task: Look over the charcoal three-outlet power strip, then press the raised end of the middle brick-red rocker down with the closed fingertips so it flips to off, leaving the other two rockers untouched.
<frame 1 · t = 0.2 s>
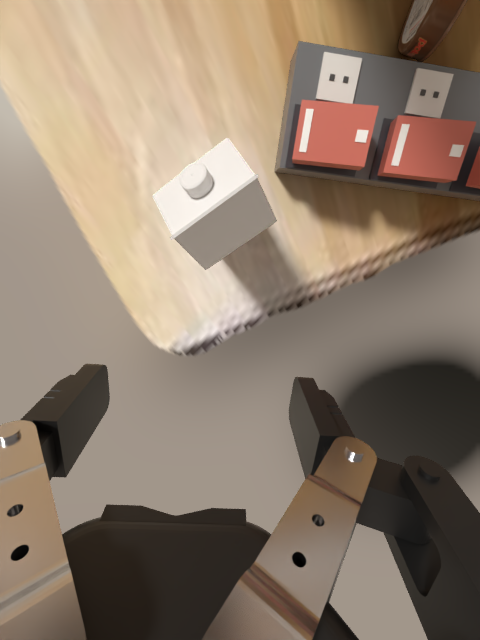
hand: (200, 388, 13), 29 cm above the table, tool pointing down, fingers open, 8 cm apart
rocker 1: (332, 136, 29), point 6 cm above the table, hinge at 12.0°
rocker 2: (423, 150, 30), point 6 cm above the table, hinge at 12.0°
milk carton: (221, 208, 38), on the table
power strip: (397, 137, 35), on the table
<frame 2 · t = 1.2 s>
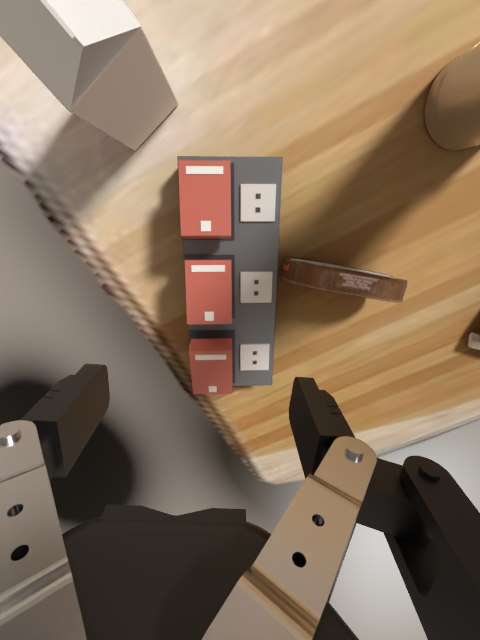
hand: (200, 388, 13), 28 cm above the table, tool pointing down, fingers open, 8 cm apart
rocker 1: (206, 201, 30), point 6 cm above the table, hinge at 12.0°
rocker 2: (209, 292, 33), point 6 cm above the table, hinge at 12.0°
tin: (330, 271, 40), on the table
milk carton: (133, 100, 32), on the table
power strip: (231, 279, 40), on the table
rocker 3: (212, 367, 37), point 6 cm above the table, hinge at -12.0°
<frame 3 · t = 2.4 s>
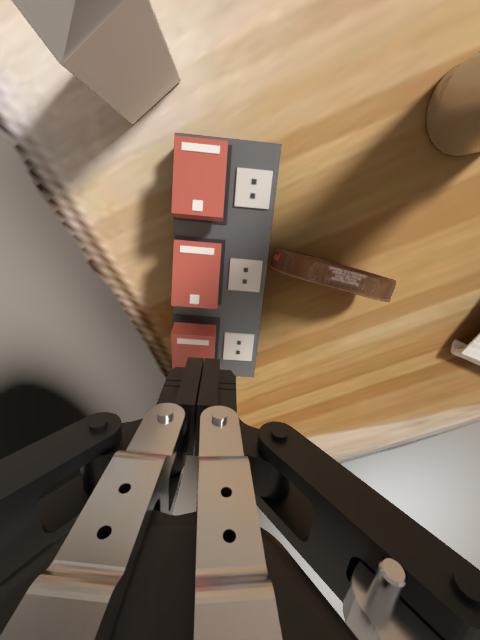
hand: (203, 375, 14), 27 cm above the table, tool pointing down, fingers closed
rocker 1: (200, 181, 29), point 6 cm above the table, hinge at 12.0°
rocker 2: (196, 275, 33), point 6 cm above the table, hinge at 12.0°
tin: (322, 267, 40), on the table
milk carton: (135, 72, 32), on the table
power strip: (221, 266, 39), on the table
rocker 3: (194, 352, 36), point 6 cm above the table, hinge at -12.0°
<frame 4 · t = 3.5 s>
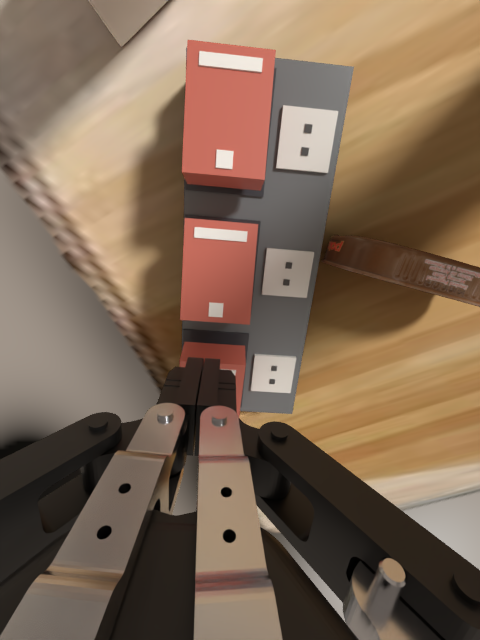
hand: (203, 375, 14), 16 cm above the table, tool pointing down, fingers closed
rocker 1: (227, 122, 18), point 6 cm above the table, hinge at 12.0°
rocker 2: (218, 273, 22), point 6 cm above the table, hinge at 12.0°
tin: (388, 262, 29), on the table
power strip: (248, 261, 28), on the table
rocker 3: (212, 385, 25), point 6 cm above the table, hinge at -12.0°
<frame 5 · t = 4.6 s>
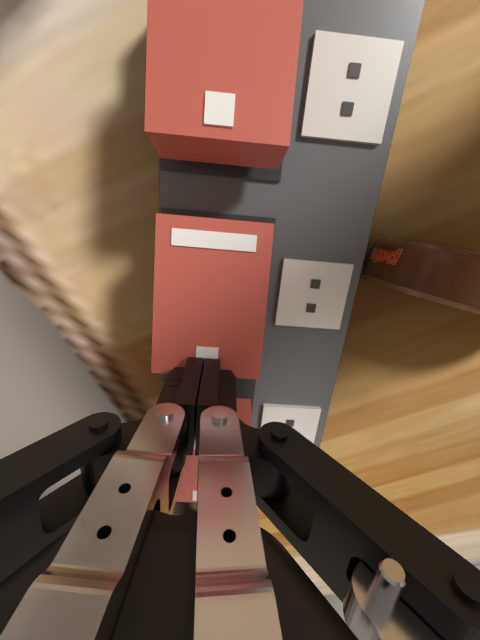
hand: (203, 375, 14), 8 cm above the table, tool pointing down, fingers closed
rocker 1: (225, 49, 11), point 6 cm above the table, hinge at 12.0°
rocker 2: (212, 298, 14), point 6 cm above the table, hinge at 11.5°, touching gripper
tin: (444, 275, 21), on the table
power strip: (254, 274, 20), on the table
rocker 3: (203, 452, 18), point 6 cm above the table, hinge at -12.0°
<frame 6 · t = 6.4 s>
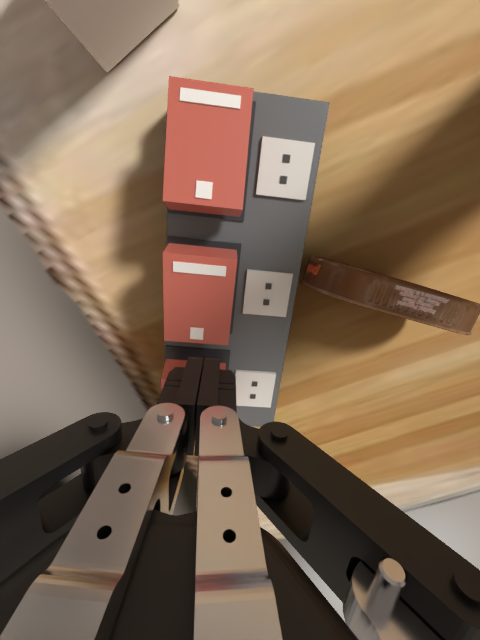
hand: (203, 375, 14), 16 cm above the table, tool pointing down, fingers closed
rocker 1: (208, 153, 19), point 6 cm above the table, hinge at 12.0°
rocker 2: (199, 296, 22), point 6 cm above the table, hinge at -8.5°
tin: (365, 281, 30), on the table
power strip: (230, 279, 29), on the table
rocker 3: (193, 401, 26), point 6 cm above the table, hinge at -12.0°
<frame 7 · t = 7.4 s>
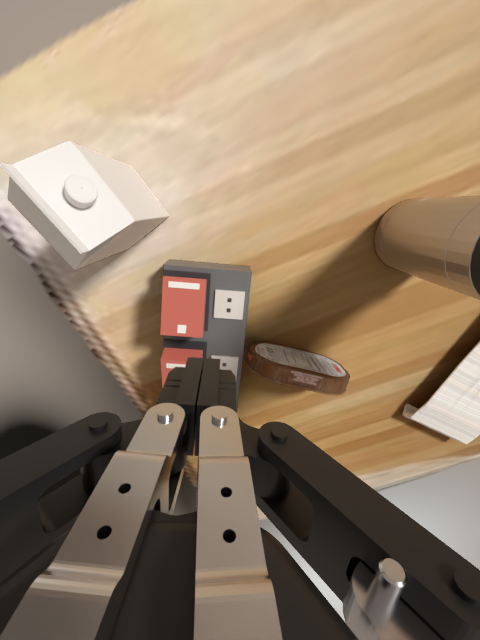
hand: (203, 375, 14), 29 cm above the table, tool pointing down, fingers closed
rocker 1: (184, 306, 36), point 6 cm above the table, hinge at 12.0°
rocker 2: (182, 375, 39), point 6 cm above the table, hinge at -12.2°
tin: (291, 352, 46), on the table
milk carton: (131, 209, 38), on the table
power strip: (205, 353, 46), on the table
rocker 3: (181, 431, 43), point 6 cm above the table, hinge at -12.0°
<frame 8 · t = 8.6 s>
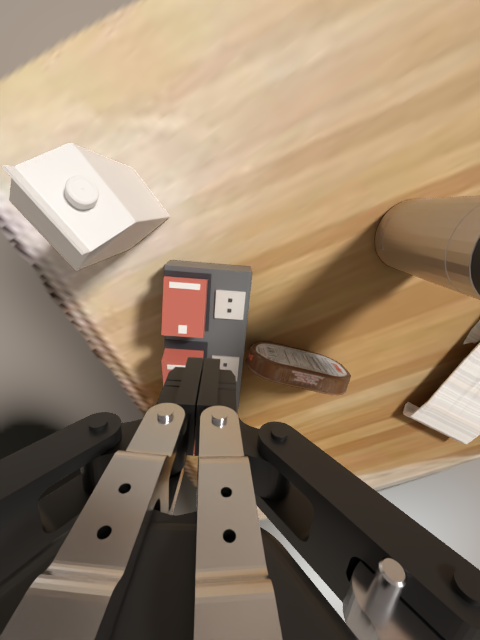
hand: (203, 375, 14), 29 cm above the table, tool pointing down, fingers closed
rocker 1: (185, 306, 36), point 6 cm above the table, hinge at 12.0°
rocker 2: (183, 375, 40), point 6 cm above the table, hinge at -14.5°
tin: (292, 352, 46), on the table
milk carton: (132, 210, 38), on the table
power strip: (206, 353, 46), on the table
rocker 3: (182, 431, 43), point 6 cm above the table, hinge at -12.0°
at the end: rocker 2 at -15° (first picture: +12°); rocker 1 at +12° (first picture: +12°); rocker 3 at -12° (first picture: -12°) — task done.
